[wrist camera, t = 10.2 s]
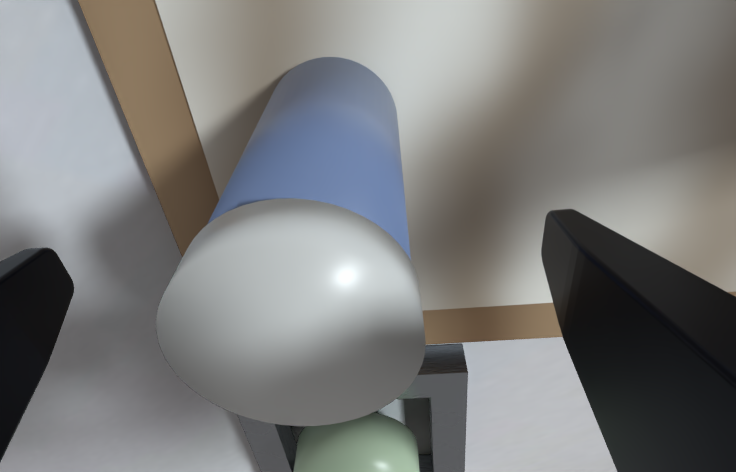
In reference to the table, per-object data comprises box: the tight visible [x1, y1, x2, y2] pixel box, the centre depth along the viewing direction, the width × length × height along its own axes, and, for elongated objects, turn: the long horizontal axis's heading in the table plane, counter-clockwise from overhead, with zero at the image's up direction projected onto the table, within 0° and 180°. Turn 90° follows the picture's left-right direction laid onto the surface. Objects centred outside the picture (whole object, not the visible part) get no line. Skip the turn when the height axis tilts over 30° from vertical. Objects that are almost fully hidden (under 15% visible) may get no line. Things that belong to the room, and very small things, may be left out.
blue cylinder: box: [156, 57, 426, 426], centre depth 10 cm, size 4×4×9 cm
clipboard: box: [78, 0, 736, 344], centre depth 14 cm, size 22×18×1 cm
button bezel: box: [237, 344, 468, 472], centre depth 23 cm, size 10×10×2 cm
